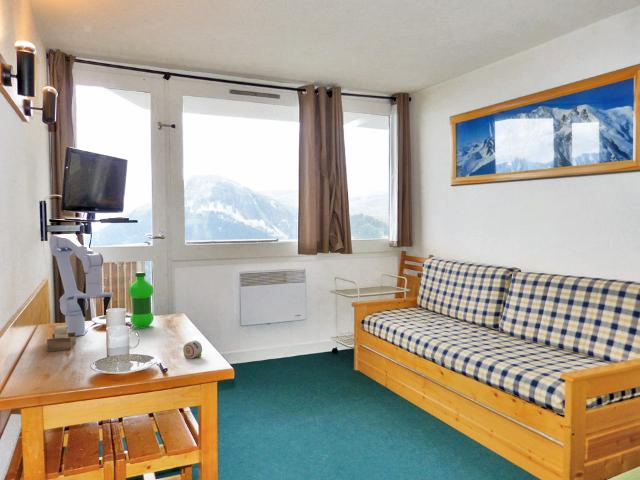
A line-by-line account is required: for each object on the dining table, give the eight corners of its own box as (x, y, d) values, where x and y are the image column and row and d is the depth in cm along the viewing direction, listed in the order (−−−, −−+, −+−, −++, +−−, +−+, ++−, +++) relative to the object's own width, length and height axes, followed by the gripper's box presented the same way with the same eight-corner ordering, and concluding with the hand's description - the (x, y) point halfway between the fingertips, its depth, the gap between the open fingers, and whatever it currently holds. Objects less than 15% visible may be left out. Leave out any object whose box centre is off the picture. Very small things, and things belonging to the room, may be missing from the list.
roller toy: (195, 360, 170) (195, 343, 170) (181, 358, 173) (180, 342, 172) (203, 357, 174) (203, 340, 174) (189, 355, 177) (188, 339, 176)
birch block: (57, 338, 192) (56, 326, 192) (68, 338, 194) (67, 325, 193) (54, 341, 189) (54, 328, 188) (66, 340, 190) (65, 327, 190)
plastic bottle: (130, 325, 228) (128, 271, 227) (154, 323, 232) (152, 270, 230) (129, 330, 219) (127, 274, 218) (154, 328, 222) (152, 273, 221)
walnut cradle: (53, 345, 195) (53, 333, 195) (75, 343, 197) (75, 332, 197) (47, 351, 185) (46, 339, 185) (70, 349, 188) (70, 337, 188)
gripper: (72, 285, 195) (73, 319, 196) (111, 283, 199) (112, 316, 200) (75, 283, 202) (76, 315, 203) (113, 281, 206) (114, 313, 207)
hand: (94, 315), depth 202 cm, fingers open, 7 cm apart
